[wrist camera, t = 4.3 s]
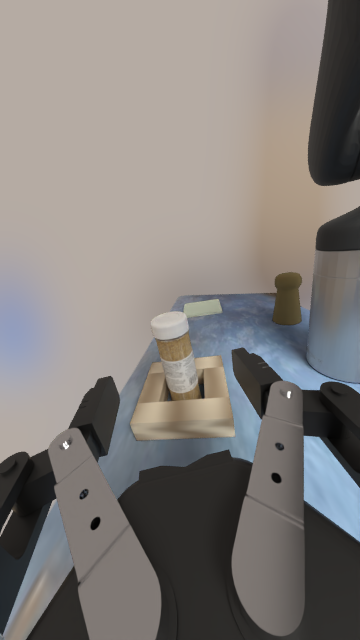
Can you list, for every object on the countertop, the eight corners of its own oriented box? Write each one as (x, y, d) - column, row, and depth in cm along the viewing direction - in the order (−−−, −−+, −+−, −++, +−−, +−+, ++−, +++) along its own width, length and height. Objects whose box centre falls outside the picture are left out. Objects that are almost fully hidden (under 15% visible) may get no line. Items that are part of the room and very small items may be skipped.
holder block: (222, 369, 33) (221, 355, 32) (235, 436, 22) (233, 418, 21) (156, 376, 34) (152, 362, 33) (136, 440, 24) (129, 423, 22)
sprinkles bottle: (185, 384, 31) (169, 308, 26) (208, 396, 28) (194, 312, 23) (165, 402, 28) (142, 321, 23) (187, 418, 25) (166, 328, 20)
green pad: (218, 300, 67) (218, 298, 67) (222, 312, 56) (222, 310, 56) (185, 305, 69) (184, 303, 68) (182, 318, 58) (182, 316, 58)
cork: (297, 313, 47) (299, 268, 42) (305, 324, 41) (309, 274, 37) (270, 315, 48) (270, 272, 44) (275, 326, 43) (275, 278, 39)
